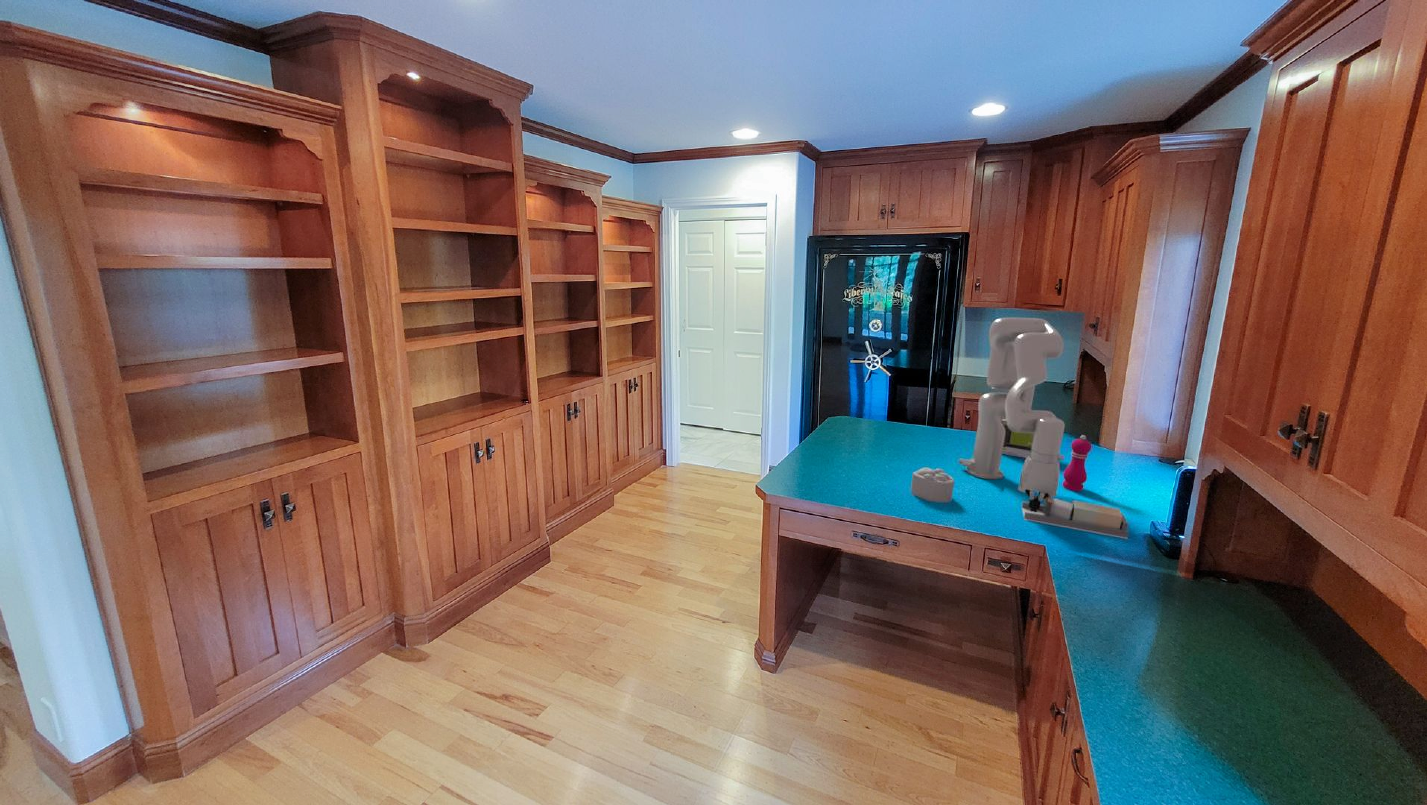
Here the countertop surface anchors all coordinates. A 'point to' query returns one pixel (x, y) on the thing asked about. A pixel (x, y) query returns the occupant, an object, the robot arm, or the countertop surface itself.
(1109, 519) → the kraft box
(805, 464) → the countertop surface
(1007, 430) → the tea box
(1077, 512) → the sage box
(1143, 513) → the countertop surface
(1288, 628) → the countertop surface
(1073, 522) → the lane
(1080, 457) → the pepper mill
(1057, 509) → the small box
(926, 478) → the lumpy-topped squat cylinder
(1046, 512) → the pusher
